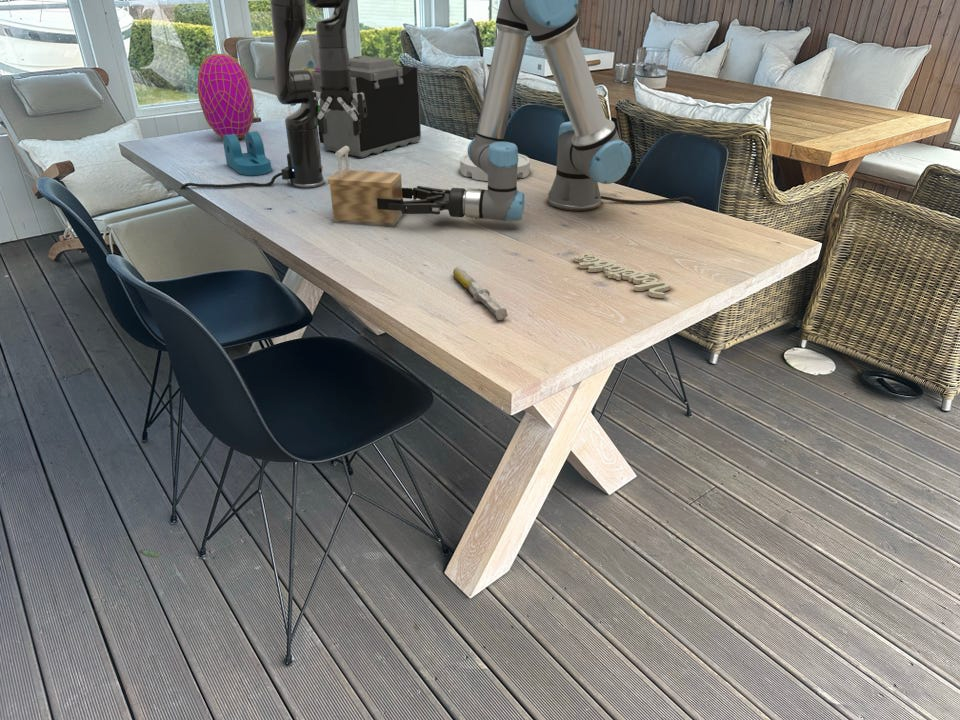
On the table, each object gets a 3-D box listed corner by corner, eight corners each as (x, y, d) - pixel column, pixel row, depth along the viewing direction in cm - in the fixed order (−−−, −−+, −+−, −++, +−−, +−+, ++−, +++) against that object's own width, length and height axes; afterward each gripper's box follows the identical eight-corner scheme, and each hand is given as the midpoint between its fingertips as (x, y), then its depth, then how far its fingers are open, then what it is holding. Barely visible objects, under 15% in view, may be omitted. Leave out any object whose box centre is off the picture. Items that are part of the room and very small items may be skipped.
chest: (333, 222, 185) (329, 184, 179) (345, 211, 193) (342, 174, 188) (393, 226, 182) (391, 188, 177) (403, 214, 190) (401, 178, 185)
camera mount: (227, 164, 233) (221, 132, 227) (257, 160, 238) (252, 129, 233) (244, 176, 220) (239, 143, 215) (276, 172, 225) (271, 139, 220)
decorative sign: (686, 282, 150) (660, 295, 144) (686, 286, 150) (659, 300, 144) (592, 249, 166) (565, 259, 160) (592, 253, 167) (565, 263, 161)
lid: (327, 184, 179) (324, 152, 175) (340, 174, 188) (337, 143, 183) (391, 188, 177) (389, 155, 173) (401, 177, 185) (399, 146, 181)
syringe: (449, 274, 155) (449, 263, 153) (465, 272, 156) (464, 260, 154) (490, 323, 135) (491, 310, 133) (508, 319, 136) (508, 307, 134)
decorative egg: (223, 147, 254) (207, 59, 238) (197, 138, 265) (180, 54, 250) (268, 138, 266) (256, 54, 251) (241, 130, 277) (228, 49, 262)
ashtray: (462, 161, 239) (462, 150, 237) (528, 163, 239) (529, 151, 237) (458, 180, 219) (458, 168, 217) (530, 182, 219) (531, 169, 217)
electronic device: (383, 133, 276) (378, 52, 261) (425, 141, 265) (422, 56, 250) (314, 150, 251) (304, 61, 235) (358, 160, 240) (350, 67, 224)
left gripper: (301, 68, 167) (309, 136, 175) (357, 69, 165) (362, 139, 173) (312, 64, 173) (320, 130, 181) (367, 65, 171) (371, 132, 179)
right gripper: (456, 231, 173) (371, 224, 176) (472, 204, 192) (395, 199, 195) (456, 201, 169) (369, 196, 172) (473, 177, 188) (394, 172, 191)
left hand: (340, 134), depth 177 cm, fingers open, 8 cm apart
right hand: (383, 197), depth 184 cm, fingers closed on chest, 10 cm apart
